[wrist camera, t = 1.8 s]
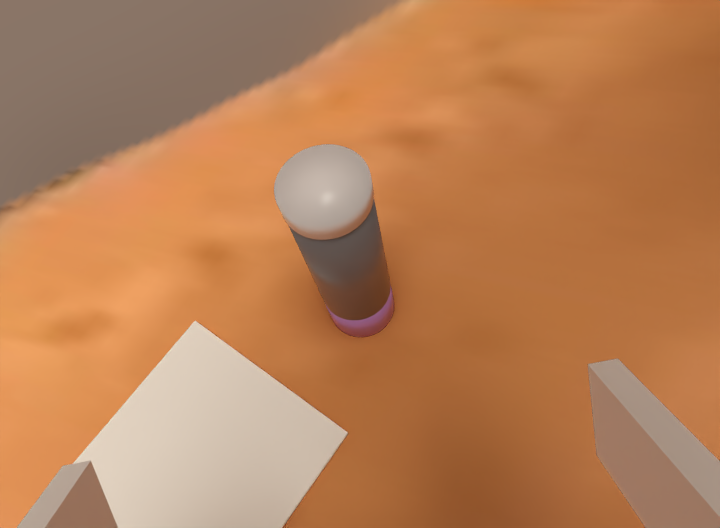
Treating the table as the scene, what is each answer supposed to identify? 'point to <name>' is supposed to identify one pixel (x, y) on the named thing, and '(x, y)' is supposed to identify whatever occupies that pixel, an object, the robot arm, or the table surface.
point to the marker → (338, 234)
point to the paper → (210, 443)
